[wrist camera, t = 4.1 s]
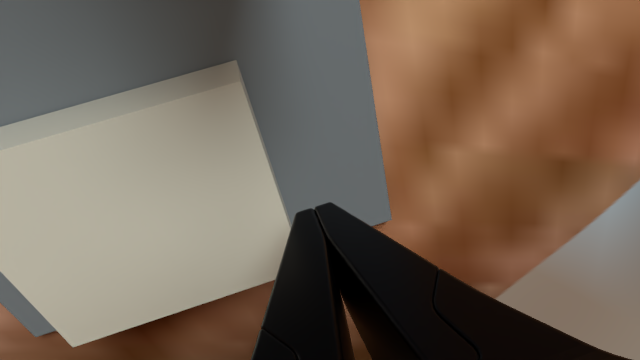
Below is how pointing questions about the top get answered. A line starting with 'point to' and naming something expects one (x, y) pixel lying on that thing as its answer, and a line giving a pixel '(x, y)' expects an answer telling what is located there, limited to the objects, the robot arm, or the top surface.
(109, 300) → the tile
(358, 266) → the robot arm
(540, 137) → the top surface
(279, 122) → the slate mat
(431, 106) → the top surface
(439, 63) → the top surface
